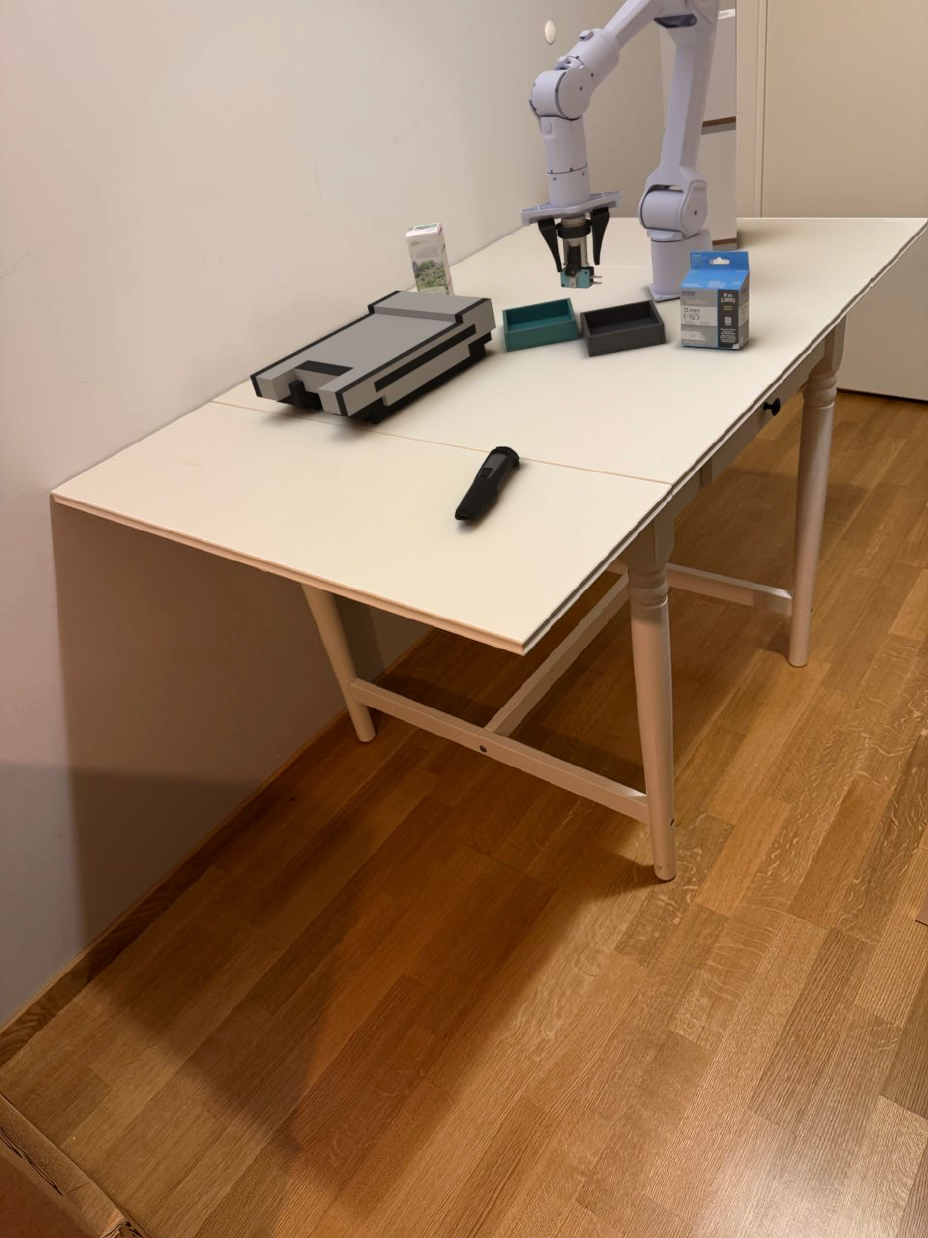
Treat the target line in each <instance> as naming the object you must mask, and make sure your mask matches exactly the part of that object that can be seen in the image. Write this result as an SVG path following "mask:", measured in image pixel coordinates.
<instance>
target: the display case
mask: <svg viewBox="0 0 928 1238" xmlns="http://www.w3.org/2000/svg"><path fill="white" fill-rule="evenodd" d="M659 42H660V45H659V47H660V63H661V65H660V67H661V86H662V104H663V105H662V107H663V109H662V110H663V127H664V130H665V125H666V118H667V111H668V104H669V97H670V90H671V82H672V75H673V68H674V61H675V54H676V45H675V43H674V42H673V40H672V39H671V37H670V36H668V35H667V34H666V33H665V32H663V31H662V30H661V29H659ZM736 48H737V47H736V8H730V9H725V10H721V11H720V10H719V14H718V21H717V32H716V40H715V47H714V53H713V59H712V66H711V72H710V79H709V85H708V91H707V98H706V104H705V110H704V117H703V123H702V130H701V136H700V142H699V149H698V155H697V162H696V169H697V171H698V172H699V173H700V174H701V175H702V177H703V178H704V179H705V180H706V181H707V183H708V186H707V204H708V212H707V217H706V220H705V222H704V224H703V226H702V228H701V229H709V231H710V234H711V238H712V245H713V251H738V236H737V235H738V233H737V232H738V231H737V228H738V227H737V226H738V225H737V224H738V223H737V222H738V220H737V219H738V218H737V217H738V215H737V213H738V212H737V210H738V209H737V73H736V72H737V67H736V65H737V64H736V63H737V61H736V60H737V59H736V57H737V56H736V55H737V54H736V53H737V52H736ZM669 189H673V190H683V189H682V188H681V187H680V186H672V187H670V188H669Z"/></svg>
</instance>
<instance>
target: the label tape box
mask: <svg viewBox="0 0 928 1238" xmlns="http://www.w3.org/2000/svg"><path fill="white" fill-rule="evenodd" d="M749 257H750V256H749V251H747V250H729V251H690V264H691V268H690V270H689V272H688V274H687V276H686V278H685V280H684V281H683V283H682V285H681V287H680V297H679V301H680V302H679V312H680V313H679V314H680V315H679V316H680V344H681V347H698V348H714V349H730V350H740V349H741V348H742V347H744V346H745V345H746V344H747V342H749V340H750V280H751V278H750V277H751V268H750V258H749ZM718 258H720V259H721V260H722V261H728V263H713V264H710V260H713V261H714V260H715V261H716V260H717V259H718Z"/></svg>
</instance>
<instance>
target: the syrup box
mask: <svg viewBox="0 0 928 1238" xmlns="http://www.w3.org/2000/svg"><path fill="white" fill-rule="evenodd" d="M405 240H406V245H407V250H408V255H409V258H410V263H411V269H412V273H413V278H414V282H415V286H416V292H421V293H433V294H444V295H456V293H455V290H454V285H453V280H452V279H453V278H452V274H451V268H450V263H449V257H448V253H447V247H446V241H445V236H444V231H443V225H442V223H441V222H434V223H428V224H424V225H417V226H411V227H409V228H408V230H407V231H406V234H405Z"/></svg>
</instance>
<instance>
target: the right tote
mask: <svg viewBox="0 0 928 1238" xmlns="http://www.w3.org/2000/svg"><path fill="white" fill-rule="evenodd" d="M579 318H580V328H581V333H582V336H583V341H584V343H585V347H586V351H587V354H588V357H595V356H600V355H607V354H610V353H611V354H612V353H617V352H623V351H629V350H633V349H639V348H645V347H646V348H647V347H650V346H656V345H662V344H666V324H665V322H664V320H663V317H662V316H661V315H660V312H659V311H658V308H657V306H656V304H655V302H654V299H646V300H641V301H635V302H631V303H625V304H619V305H614V306H608V307H603V308H597V309H593V310H592V309H591V310H586V311H581V312H579Z"/></svg>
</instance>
